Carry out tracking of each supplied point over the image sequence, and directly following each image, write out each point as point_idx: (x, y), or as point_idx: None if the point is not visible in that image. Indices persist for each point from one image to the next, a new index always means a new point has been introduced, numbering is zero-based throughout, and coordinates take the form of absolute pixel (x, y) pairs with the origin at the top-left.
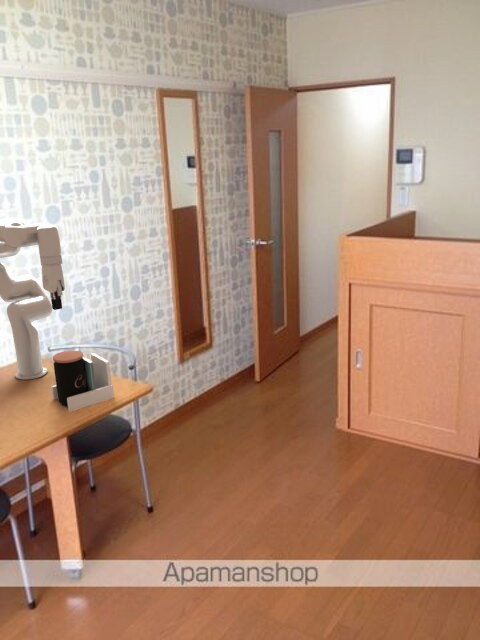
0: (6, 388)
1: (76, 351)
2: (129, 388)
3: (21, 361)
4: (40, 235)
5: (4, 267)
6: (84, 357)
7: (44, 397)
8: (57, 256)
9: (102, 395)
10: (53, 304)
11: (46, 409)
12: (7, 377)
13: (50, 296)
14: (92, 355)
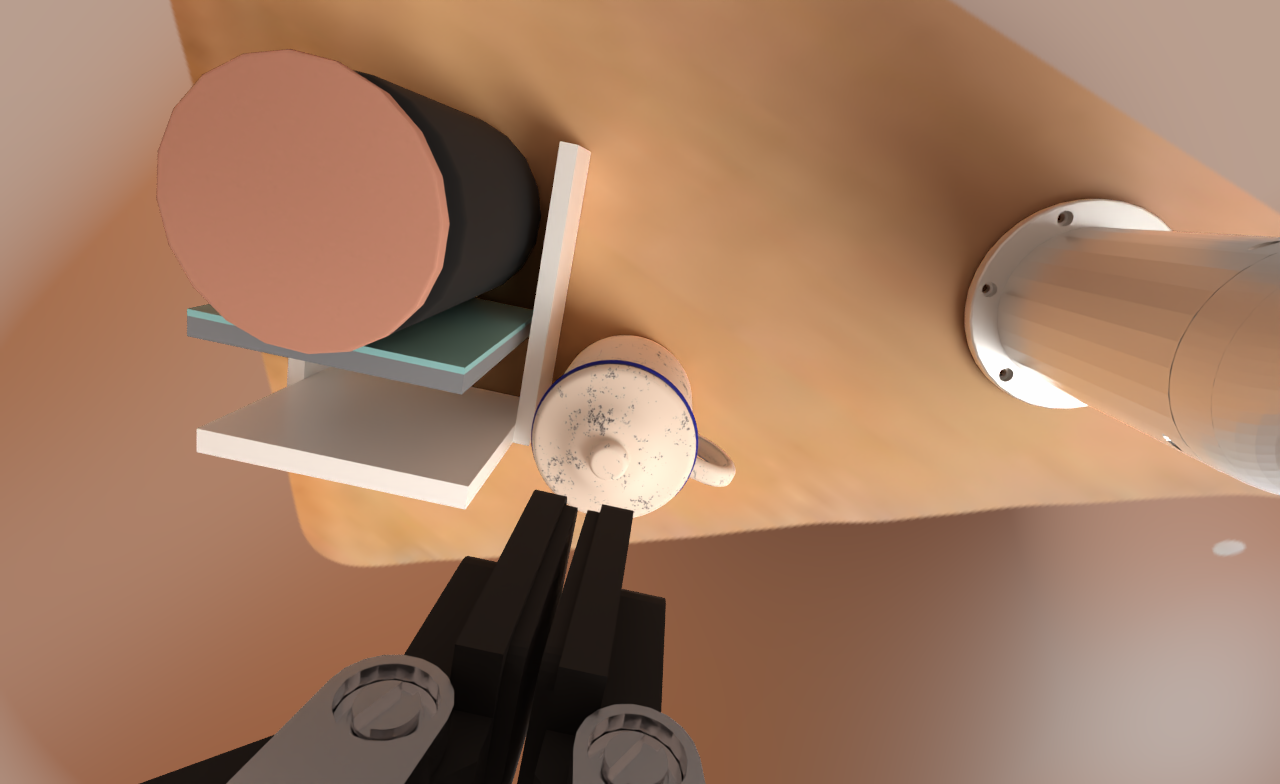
0: (1016, 52)
1: (338, 329)
2: (377, 498)
3: (1134, 237)
4: None
5: None
6: (343, 366)
7: (656, 131)
8: None
9: None
10: (502, 553)
11: (484, 29)
12: (1185, 171)
13: (698, 775)
14: (440, 477)
